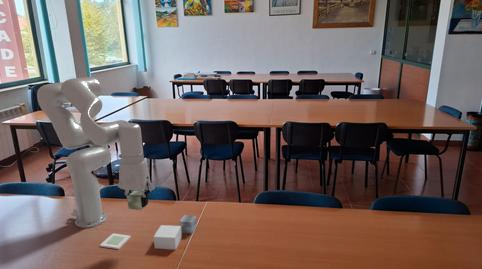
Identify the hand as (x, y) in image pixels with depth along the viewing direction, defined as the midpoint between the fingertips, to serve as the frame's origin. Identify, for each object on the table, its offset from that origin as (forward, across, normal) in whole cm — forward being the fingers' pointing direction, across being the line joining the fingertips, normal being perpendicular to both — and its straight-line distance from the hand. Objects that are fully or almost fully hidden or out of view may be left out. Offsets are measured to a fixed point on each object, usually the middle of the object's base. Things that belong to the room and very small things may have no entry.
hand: (138, 204), depth 121 cm
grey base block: (+16, +10, +2) cm, 19 cm away
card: (+16, -10, -2) cm, 19 cm away
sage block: (+1, 0, 0) cm, 1 cm away
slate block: (+16, +14, +12) cm, 24 cm away
